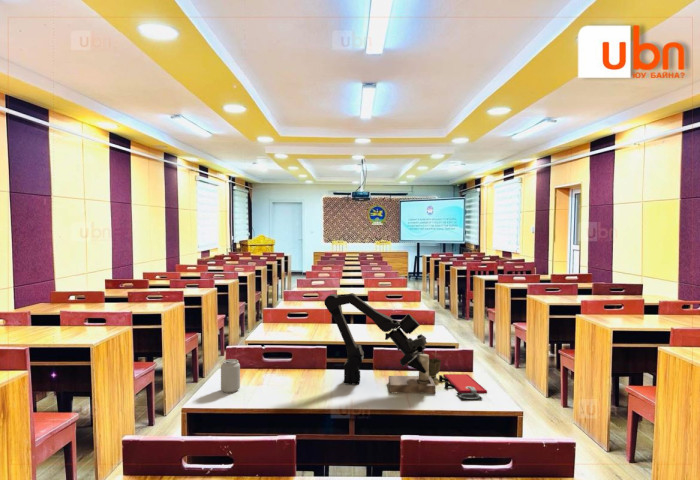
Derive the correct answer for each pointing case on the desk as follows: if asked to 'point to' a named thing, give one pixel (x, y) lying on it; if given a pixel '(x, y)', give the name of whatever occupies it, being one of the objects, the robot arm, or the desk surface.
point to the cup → (434, 367)
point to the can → (230, 375)
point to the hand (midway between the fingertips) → (426, 371)
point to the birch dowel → (425, 363)
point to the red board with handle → (463, 385)
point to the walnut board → (410, 385)
